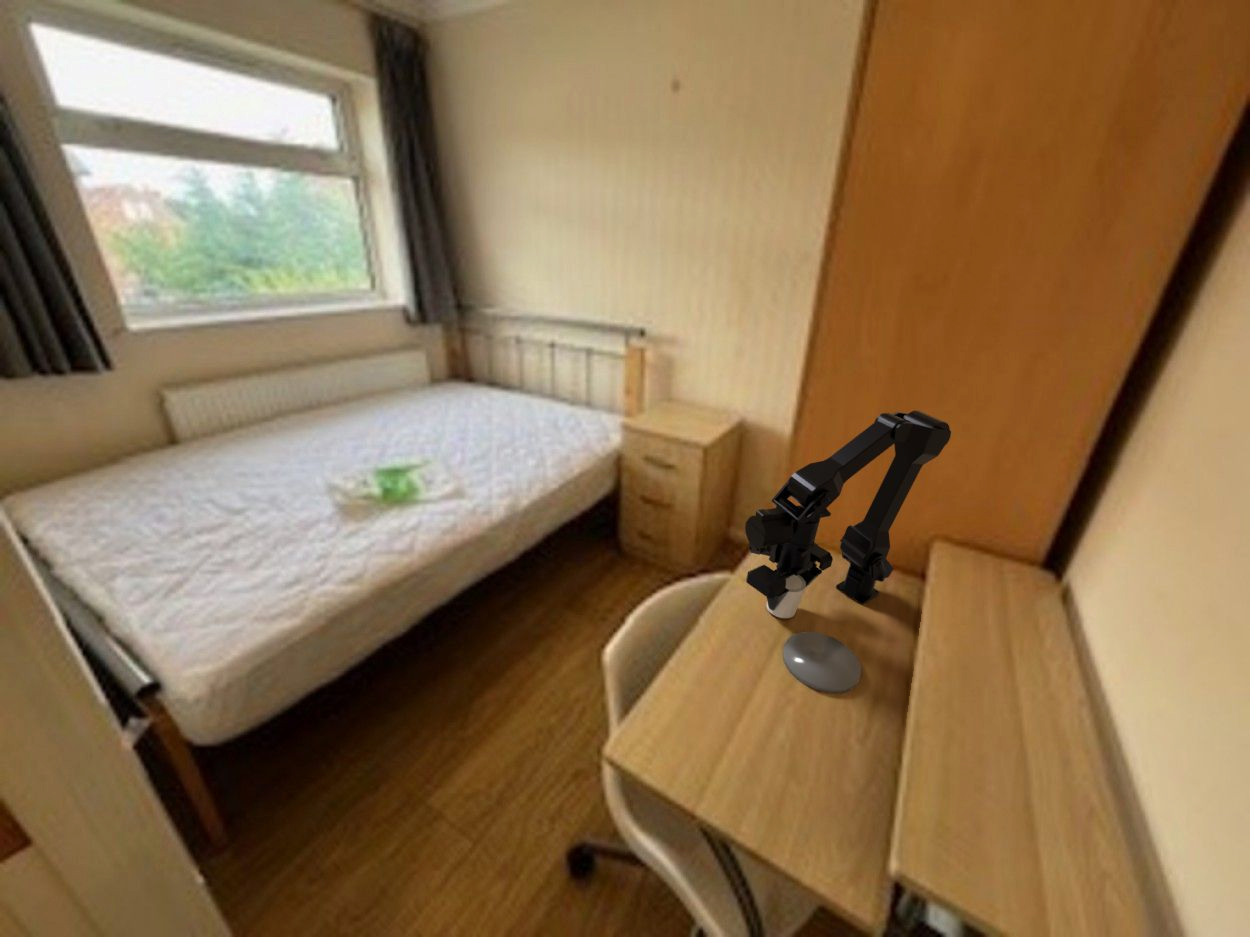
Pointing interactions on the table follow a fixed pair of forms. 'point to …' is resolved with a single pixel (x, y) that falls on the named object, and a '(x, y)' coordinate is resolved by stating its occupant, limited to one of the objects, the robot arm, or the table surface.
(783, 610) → the white cup
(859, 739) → the table surface
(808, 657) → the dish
